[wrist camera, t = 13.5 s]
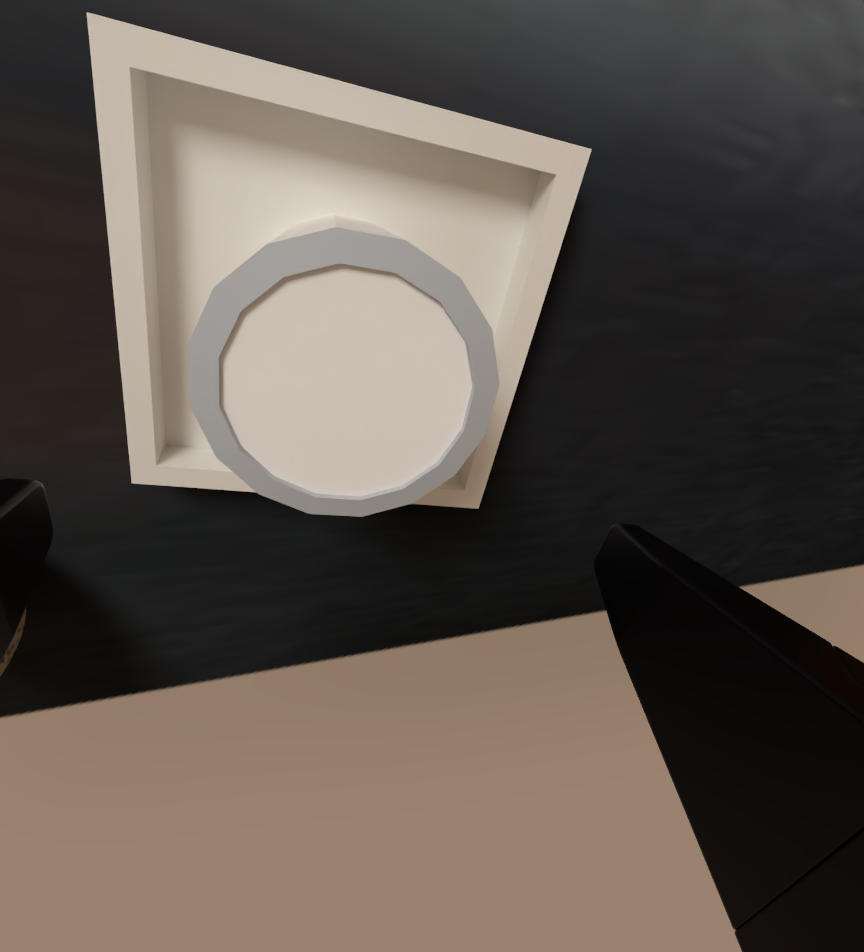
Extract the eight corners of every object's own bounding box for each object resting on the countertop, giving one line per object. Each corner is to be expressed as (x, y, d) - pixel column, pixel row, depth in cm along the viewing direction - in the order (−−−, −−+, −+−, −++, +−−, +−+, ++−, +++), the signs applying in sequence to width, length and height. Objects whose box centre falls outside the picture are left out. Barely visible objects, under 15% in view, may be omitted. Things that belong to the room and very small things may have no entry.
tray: (147, 453, 20) (131, 483, 18) (115, 25, 13) (86, 11, 12) (467, 481, 23) (478, 508, 21) (564, 146, 17) (591, 149, 15)
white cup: (302, 432, 20) (293, 558, 14) (184, 252, 16) (106, 324, 10) (471, 354, 19) (535, 452, 13) (392, 148, 15) (434, 162, 10)
